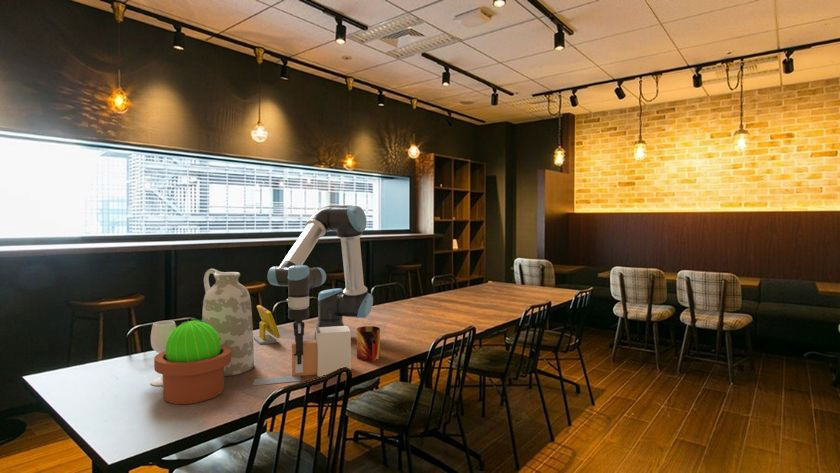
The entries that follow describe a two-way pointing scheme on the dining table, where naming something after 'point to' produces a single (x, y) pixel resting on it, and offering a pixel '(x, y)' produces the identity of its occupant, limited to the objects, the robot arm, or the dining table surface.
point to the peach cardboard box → (306, 358)
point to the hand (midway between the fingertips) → (298, 369)
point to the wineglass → (160, 341)
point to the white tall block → (333, 348)
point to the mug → (368, 343)
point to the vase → (230, 318)
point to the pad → (277, 380)
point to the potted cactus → (192, 363)
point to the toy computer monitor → (266, 327)
